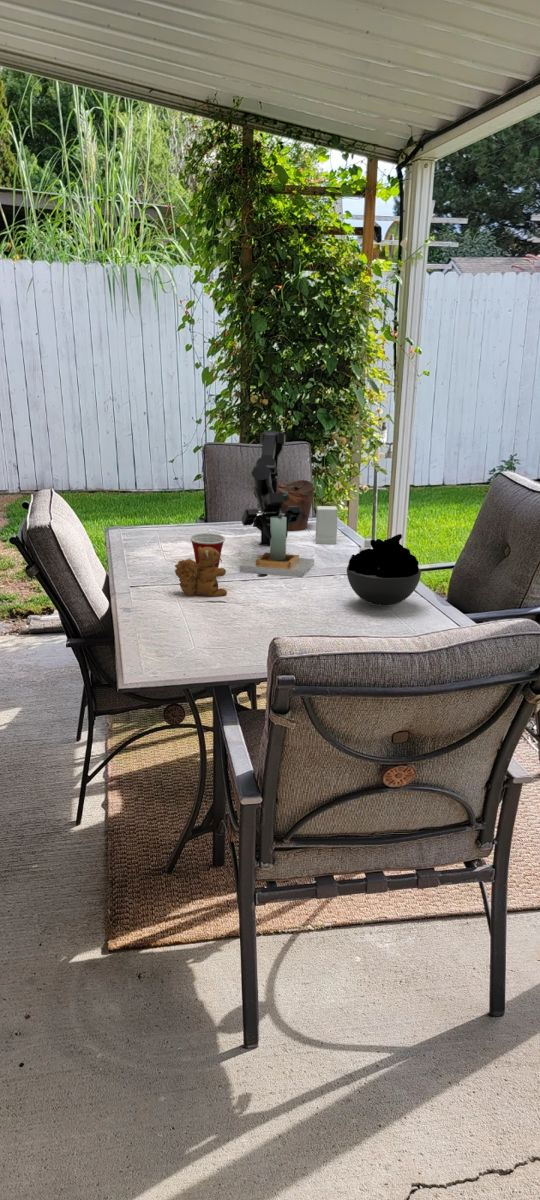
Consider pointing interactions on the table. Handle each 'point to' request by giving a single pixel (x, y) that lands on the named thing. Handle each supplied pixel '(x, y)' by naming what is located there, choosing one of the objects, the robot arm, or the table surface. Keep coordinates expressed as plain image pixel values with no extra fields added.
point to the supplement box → (326, 524)
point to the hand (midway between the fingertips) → (278, 537)
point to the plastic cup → (207, 543)
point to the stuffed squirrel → (201, 574)
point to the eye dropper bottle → (366, 544)
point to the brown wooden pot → (298, 501)
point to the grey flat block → (277, 565)
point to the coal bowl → (384, 572)
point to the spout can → (278, 537)
